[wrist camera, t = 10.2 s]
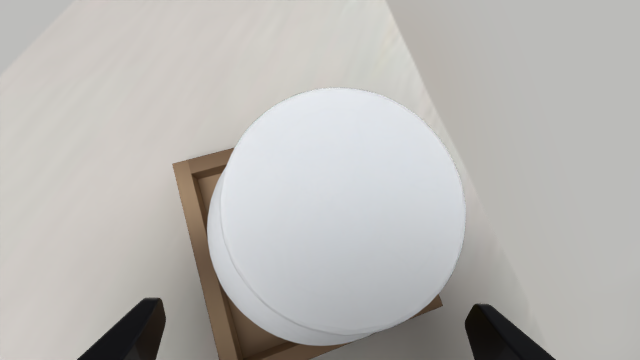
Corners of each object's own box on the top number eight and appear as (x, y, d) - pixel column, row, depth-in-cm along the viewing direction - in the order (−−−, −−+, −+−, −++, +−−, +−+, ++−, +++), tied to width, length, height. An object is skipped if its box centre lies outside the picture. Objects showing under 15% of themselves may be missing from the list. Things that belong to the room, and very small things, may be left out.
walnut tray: (426, 300, 19) (442, 305, 17) (233, 376, 17) (227, 392, 15) (361, 125, 21) (369, 112, 19) (183, 173, 19) (172, 164, 17)
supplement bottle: (379, 222, 19) (567, 155, 6) (322, 324, 17) (429, 501, 5) (286, 162, 19) (296, -13, 7) (220, 258, 17) (67, 261, 5)
